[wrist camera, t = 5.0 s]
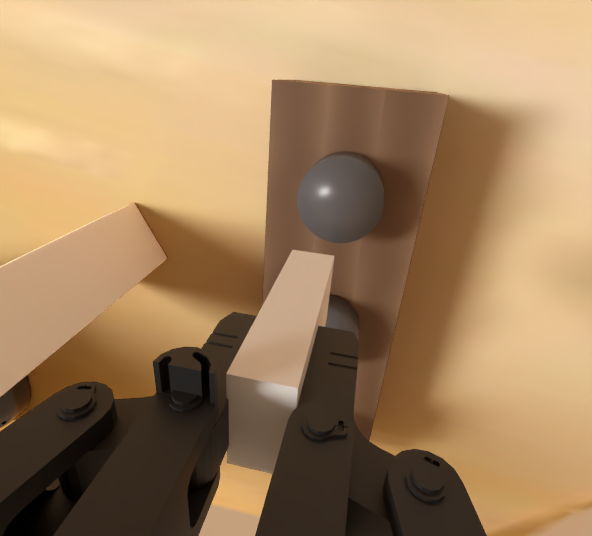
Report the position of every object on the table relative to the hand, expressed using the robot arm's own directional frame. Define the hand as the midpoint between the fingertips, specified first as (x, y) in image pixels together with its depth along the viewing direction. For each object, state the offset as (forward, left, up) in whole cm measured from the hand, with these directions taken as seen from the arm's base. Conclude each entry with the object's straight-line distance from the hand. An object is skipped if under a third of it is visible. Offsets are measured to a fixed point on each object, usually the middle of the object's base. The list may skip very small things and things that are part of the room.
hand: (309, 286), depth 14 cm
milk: (-20, -9, -19) cm, 28 cm away
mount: (0, -10, -18) cm, 21 cm away
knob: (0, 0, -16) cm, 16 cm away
